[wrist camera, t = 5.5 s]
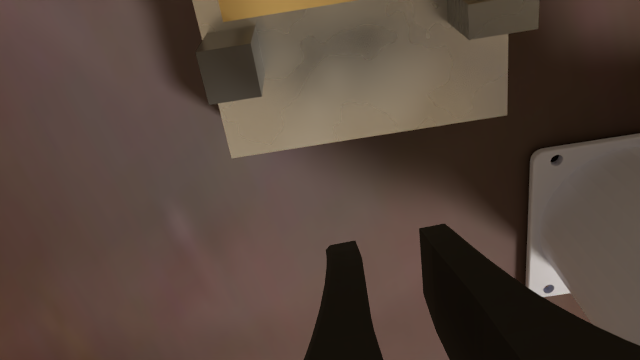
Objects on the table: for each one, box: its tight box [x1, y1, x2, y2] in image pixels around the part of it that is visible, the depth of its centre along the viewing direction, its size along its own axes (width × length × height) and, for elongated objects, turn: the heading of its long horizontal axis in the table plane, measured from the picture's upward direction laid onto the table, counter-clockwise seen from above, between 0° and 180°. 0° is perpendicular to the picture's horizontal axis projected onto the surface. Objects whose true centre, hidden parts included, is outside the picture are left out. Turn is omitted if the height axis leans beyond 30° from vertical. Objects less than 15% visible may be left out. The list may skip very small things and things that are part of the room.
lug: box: [195, 25, 265, 105], centre depth 17 cm, size 2×2×2 cm
